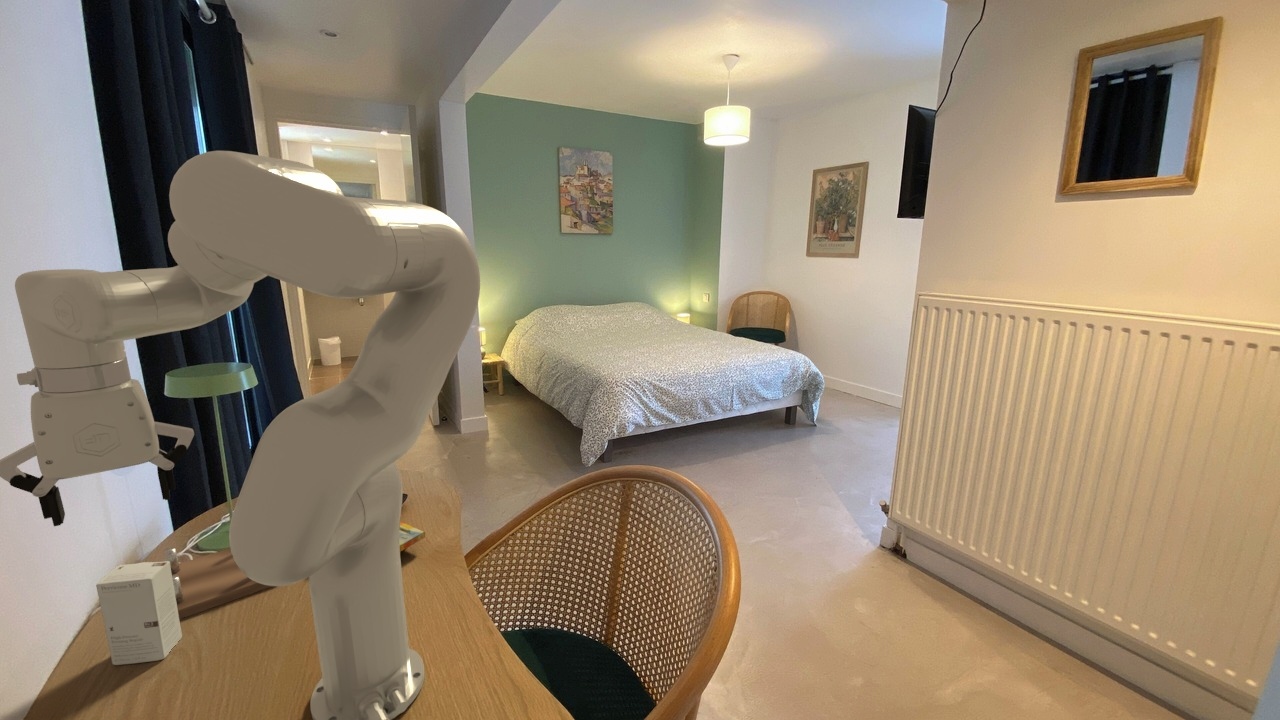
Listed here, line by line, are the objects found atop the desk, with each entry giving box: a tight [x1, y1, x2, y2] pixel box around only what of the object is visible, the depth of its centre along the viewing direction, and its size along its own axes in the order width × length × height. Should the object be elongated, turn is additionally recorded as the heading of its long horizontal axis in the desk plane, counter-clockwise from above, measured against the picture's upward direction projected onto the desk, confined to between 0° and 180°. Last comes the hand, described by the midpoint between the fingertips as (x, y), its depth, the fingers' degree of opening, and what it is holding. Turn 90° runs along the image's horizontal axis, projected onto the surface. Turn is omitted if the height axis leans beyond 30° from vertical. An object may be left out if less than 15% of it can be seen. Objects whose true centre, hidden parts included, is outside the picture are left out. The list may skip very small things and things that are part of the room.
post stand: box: [163, 546, 273, 620], centre depth 85 cm, size 14×16×6 cm
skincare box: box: [95, 560, 183, 666], centre depth 70 cm, size 6×4×12 cm
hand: (115, 507), depth 67 cm, fingers open, 9 cm apart
